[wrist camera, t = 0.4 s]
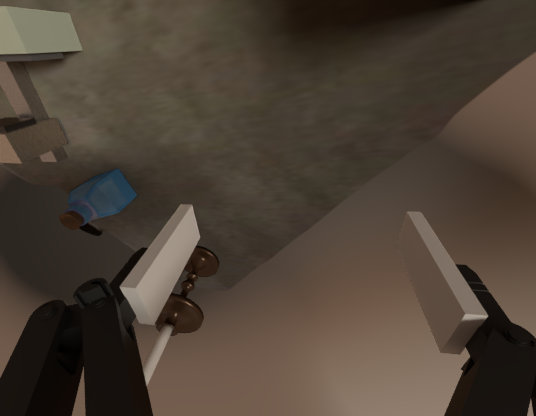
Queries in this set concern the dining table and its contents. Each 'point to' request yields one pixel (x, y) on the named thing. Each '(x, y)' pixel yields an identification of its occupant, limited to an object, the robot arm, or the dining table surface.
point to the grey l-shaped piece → (27, 121)
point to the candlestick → (181, 307)
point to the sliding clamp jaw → (35, 34)
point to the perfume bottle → (97, 199)
